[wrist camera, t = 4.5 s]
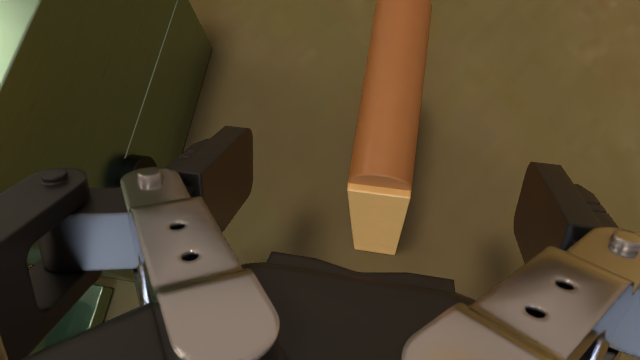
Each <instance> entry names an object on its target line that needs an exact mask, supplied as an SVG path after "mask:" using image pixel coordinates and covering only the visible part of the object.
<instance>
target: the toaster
mask: <svg viewBox="0 0 640 360" xmlns="http://www.w3.org/2000/svg"><path fill="white" fill-rule="evenodd" d="M211 51H212V46H211V44H210V42H209V40H208V38H207V36H206V34H205V32H204V30H203V28H202V26H201V24H200V22H199V20H198V18H197V16H196V14H195V12H194V10H193V8H192V6H191V4H190V2H189V0H0V193H2V192H4V191H5V190H7V189H9V188H10V187H12V186H13V185H15V184H17V183H18V182H20V181H22V180H23V179H25V178H27V177H28V176H30V175H32V174H35V173H37V172H40V171H44V170H48V169H53V168H75V169H80V170H82V171H84V172H85V173H86V174H87V178H88V184H89V188H114V187H121V184H120V180H121V178H122V177H123V176H124V175H125V174H127V173H129V172H131V171H134V170H137V169H141V168H147V167H163V168H164V167H166V166H167V165H168V164H169V163H171V162H172V161H173V160H174V159H176V158H177V157H179V155H181V154H182V151H183V147H184V144H185V140H186V137H187V134H188V130H189V127H190V123H191V120H192V116H193V113H194V109H195V106H196V103H197V99H198V96H199V92H200V89H201V85H202V82H203V78H204V75H205V72H206V68H207V65H208V61H209V58H210V54H211ZM39 260H41V254H40V250H39V246H38V242H37V241H36V242H35V243H34V244H33V245H32V247H31V248H30V251H29V253H28V257H27V264H31V265H35V264H36V263H37V262H38V261H39ZM101 276H102V277H108V278H114V279H120V280H125V281H131V282H135V281H134V277H133V270H132V269H117V270H103V272H102V274H101Z"/></svg>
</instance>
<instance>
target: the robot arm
mask: <svg viewBox="0 0 640 360" xmlns="http://www.w3.org/2000/svg"><path fill="white" fill-rule="evenodd" d="M252 183H253V136H252V131H251V129H249V128H241V127H233V126H225V127H224V128H222V129H221V130H220V131H219V132H218V133H216V134H215V135H214V136H213V137H212V138H210V139H206V140H203V141H200V142H197V143H195V144H193V145H192V146H190V147H189V148H188V149H187V150H185V152H183V153H182V154H181V155H179V157H177V158H176V159H174V160H173V161H172V162H171V163H169V164H168V165H167V166H166V167H164V168H163V167H147V168H141V169H137V170H134V171H131V172H129V173H127V174H125V175H124V176H123V177H122V178H121V180H120V184H121V187H114V188H89V184H88V178H87V174H86V173H85V172H84V171H82V170H80V169H75V168H53V169H48V170H44V171H40V172H37V173H35V174H32V175H30V176H28V177H27V178H25V179H23V180H22V181H20V182H18V183H17V184H15V185H13V186H12V187H10V188H9V189H7V190H5V191H4V192H2V193H0V360H618V359H619V357H620V355H621V353H622V352H623V353H626V354H629V355H631V356H634V357H637V358H640V235H639V234H637V233H634V232H631V231H628V230H625V229H620V228H619V227H618V226H617V225H616V223H615V222H614V221H613V219H612V218H611V217H610V216H609V214H607V213H606V210H605V209H604V208H603V206H602V205H600V202H599V201H598V200H597V198H596V197H595V196H594V194H593V193H591V192H590V191H588V190H586V189H585V188H583V187H582V186H580V185H579V184H573V182H572V181H571V179H570V178H569V177H568V175H567V174H566V172H565V171H564V169H563V168H562V167H561V166H560V165H555V164H546V163H537V162H531V163H530V164H529V165H528V168H527V170H526V174H525V177H524V181H523V185H522V189H521V193H520V196H519V200H518V204H517V208H516V212H515V216H514V234H515V237H516V240H517V243H518V246H519V249H520V251H521V254H522V257H523V260H524V263H525V264H524V265H523V266H522V267H520V268H519V269H518V270H516V271H515V272H514V273H512V274H511V275H510V276H508V277H507V278H506V279H504V280H503V281H502V282H500V283H499V284H498V285H497V286H495V287H494V288H493V289H491V290H490V291H489V292H487V293H486V294H485V295H483V296H482V297H481V298H479V299H478V300H477V301H475V300H473V299H471V298H469V297H466V296H464V295H461V294H458V293H455V286H454V280H452V279H445V278H439V277H432V276H426V275H419V274H413V273H362V272H356V271H352V270H349V269H346V268H343V267H340V266H337V265H334V264H331V263H328V262H325V261H322V260H319V259H315V258H310V257H303V256H297V255H291V254H284V253H278V252H271V254H270V256H269V258H268V260H267V262H263V263H250V264H244V265H240V263H239V261H238V259H237V258H236V256H235V254H234V252H233V251H232V249H231V247H230V245H229V244H228V242H227V240H226V238H225V237H224V235H223V233H222V232H223V231H224V230H225V228H226V227H227V225H228V224H229V223H230V221H231V220H232V219H233V217H234V216H235V214H236V213H237V212H238V210H239V209H240V208H241V206H242V205H243V203H244V202H245V201H246V199H247V198H248V196H249V195H250V192H251V188H252ZM36 241H37V242H38V246H39V250H40V254H41V260H39V261H38V262H37V263H36V264H35V265H34V266H32V267H31V268H30V269H29V270H28V267H27V257H28V253H29V251H30V248H31V247H32V245H33V244H34V243H35V242H36ZM117 269H132V270H133V277H134V281H135V286H136V290H137V294H138V299H139V303H140V307H138V308H136V309H133V310H131V311H129V312H126V313H124V314H122V315H120V316H117V317H115V318H113V319H111V320H108V321H106V322H104V323H101V324H99V325H97V326H95V327H92V328H90V329H88V330H86V331H83V332H81V333H79V334H77V335H74V336H72V337H70V338H67V339H65V340H63V341H61V342H58V343H56V344H54V345H52V346H49V347H47V348H45V349H42V350H40V351H38V352H36V353H33V354H31V355H29V354H30V353H31V352H32V351H33V350H34V349H35V347H36V346H37V345H38V344H39V343H40V342H41V341H42V340H43V339H44V338H45V336H46V335H47V334H48V333H49V332H50V331H51V330H52V329H53V328H54V327H55V325H56V324H57V323H58V322H59V321H60V320H61V319H62V318H63V317H64V316H65V314H66V313H67V312H68V311H69V310H70V309H71V308H72V307H73V306H74V304H75V303H76V302H77V301H78V300H79V299H80V298H81V297H82V296H83V295H84V293H85V292H86V291H87V290H88V289H89V288H90V287H91V286H92V285H93V284H94V282H95V281H96V280H97V279H98V278H99V277H100V276H101V274H102V272H103V270H117ZM28 355H29V356H28Z"/></svg>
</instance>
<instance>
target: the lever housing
mask: <svg viewBox="0 0 640 360" xmlns="http://www.w3.org/2000/svg"><path fill="white" fill-rule="evenodd" d="M112 292H113V289H110V288H107V287H103V286H97V285H92V286H91V287H90V288H89V289H88V290H87V291H86V292H85V293H84V295H83V296H82V297H81V298H80V299H79V300H78V301H77V302H76V303H75V304H74V306H73V307H72V308H71V309H70V310H69V311H68V312H67V313H66V314H65V316H64V317H63V318H62V319H61V320H60V321H59V322H58V323H57V324H56V325H55V327H54V328H53V329H52V330H51V331H50V332H49V333H48V334H47V335H46V336H45V338H44V339H43V340H42V341H41V342H40V343H39V344H38V345H37V346H36V347H35V349H34V350H33V351H32V352H31V353H30V354H29V355H31V354H33V353H36V352H38V351H40V350H42V349H45V348H47V347H49V346H52V345H54V344H56V343H58V342H61V341H63V340H65V339H67V338H70V337H72V336H74V335H77V334H79V333H81V332H83V331H86V330H88V329H90V328H92V327H95V326H97V325H99V324H101V323H103V321H104V317H105V314H106V311H107V308H108V305H109V301H110V298H111V295H112ZM29 355H28V356H29Z"/></svg>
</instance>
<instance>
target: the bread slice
mask: <svg viewBox="0 0 640 360" xmlns="http://www.w3.org/2000/svg"><path fill="white" fill-rule="evenodd" d="M431 11H432V5H431V2H430V0H377V3H376V8H375V14H374V21H373V27H372V33H371V39H370V46H369V52H368V58H367V65H366V71H365V77H364V83H363V90H362V96H361V102H360V108H359V115H358V121H357V127H356V134H355V140H354V146H353V152H352V159H351V165H350V171H349V177H348V186H347V193H348V202H349V210H350V218H351V226H352V235H353V243H354V249H357V250H364V251H370V252H377V253H384V254H391V255H395V253H396V249H397V246H398V242H399V238H400V235H401V231H402V227H403V224H404V220H405V216H406V213H407V209H408V205H409V202H410V198H411V190H412V182H413V173H414V164H415V155H416V146H417V137H418V128H419V119H420V110H421V101H422V92H423V83H424V74H425V65H426V56H427V47H428V38H429V29H430V20H431Z"/></svg>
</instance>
